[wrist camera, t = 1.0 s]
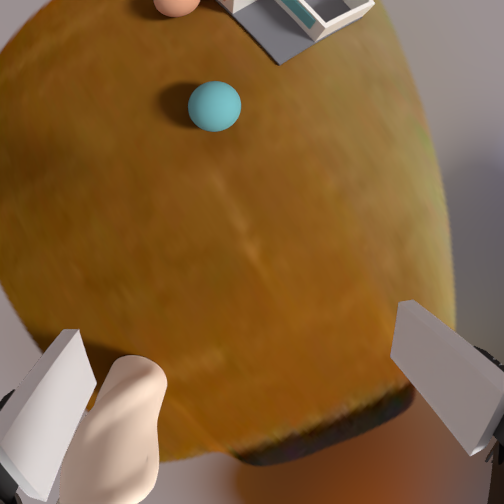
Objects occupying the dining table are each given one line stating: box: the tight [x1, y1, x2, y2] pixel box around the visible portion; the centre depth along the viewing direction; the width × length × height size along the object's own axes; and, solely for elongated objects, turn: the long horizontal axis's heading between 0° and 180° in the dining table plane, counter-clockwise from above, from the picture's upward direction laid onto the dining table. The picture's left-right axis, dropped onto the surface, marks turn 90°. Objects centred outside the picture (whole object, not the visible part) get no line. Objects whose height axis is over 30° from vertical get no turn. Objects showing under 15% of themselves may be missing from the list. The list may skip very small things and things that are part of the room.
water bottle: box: [56, 355, 167, 504], centre depth 24 cm, size 10×9×28 cm
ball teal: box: [188, 81, 241, 132], centre depth 28 cm, size 5×5×5 cm
